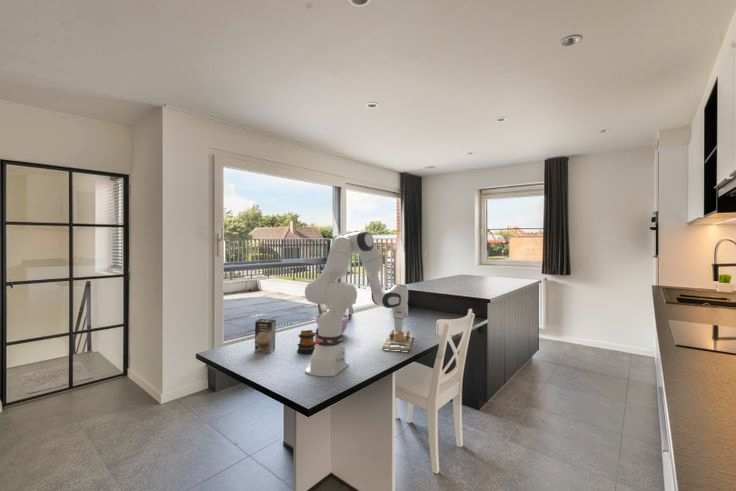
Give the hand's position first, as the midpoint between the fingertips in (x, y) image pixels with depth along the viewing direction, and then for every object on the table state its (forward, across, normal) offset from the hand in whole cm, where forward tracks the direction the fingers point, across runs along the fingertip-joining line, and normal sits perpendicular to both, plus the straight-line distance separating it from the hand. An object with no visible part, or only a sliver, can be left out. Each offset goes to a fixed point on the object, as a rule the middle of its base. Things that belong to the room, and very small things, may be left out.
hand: (399, 335), depth 198 cm
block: (+1, +4, 0) cm, 4 cm away
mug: (+3, +30, -45) cm, 54 cm away
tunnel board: (+3, +5, 0) cm, 6 cm away
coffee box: (+3, +36, -67) cm, 76 cm away
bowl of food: (+3, 0, -42) cm, 42 cm away
